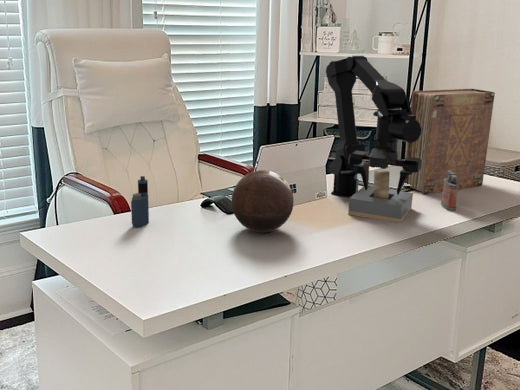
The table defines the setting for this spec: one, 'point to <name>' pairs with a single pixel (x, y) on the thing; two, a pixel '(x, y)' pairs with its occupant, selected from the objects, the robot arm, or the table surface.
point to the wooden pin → (381, 184)
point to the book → (450, 137)
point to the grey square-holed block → (380, 205)
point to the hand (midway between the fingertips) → (382, 192)
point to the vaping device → (140, 204)
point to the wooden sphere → (262, 201)
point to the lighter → (450, 192)
